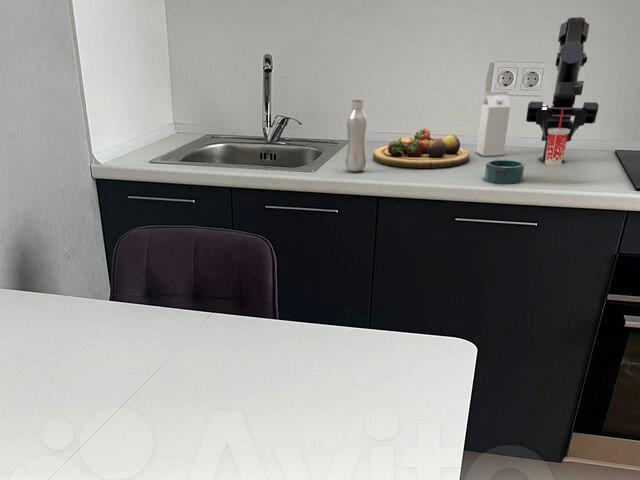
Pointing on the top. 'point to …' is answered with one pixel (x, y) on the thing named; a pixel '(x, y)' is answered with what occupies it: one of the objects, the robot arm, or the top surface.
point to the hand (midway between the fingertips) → (557, 139)
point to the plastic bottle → (356, 137)
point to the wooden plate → (423, 151)
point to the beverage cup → (556, 144)
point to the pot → (504, 171)
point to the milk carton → (493, 124)
